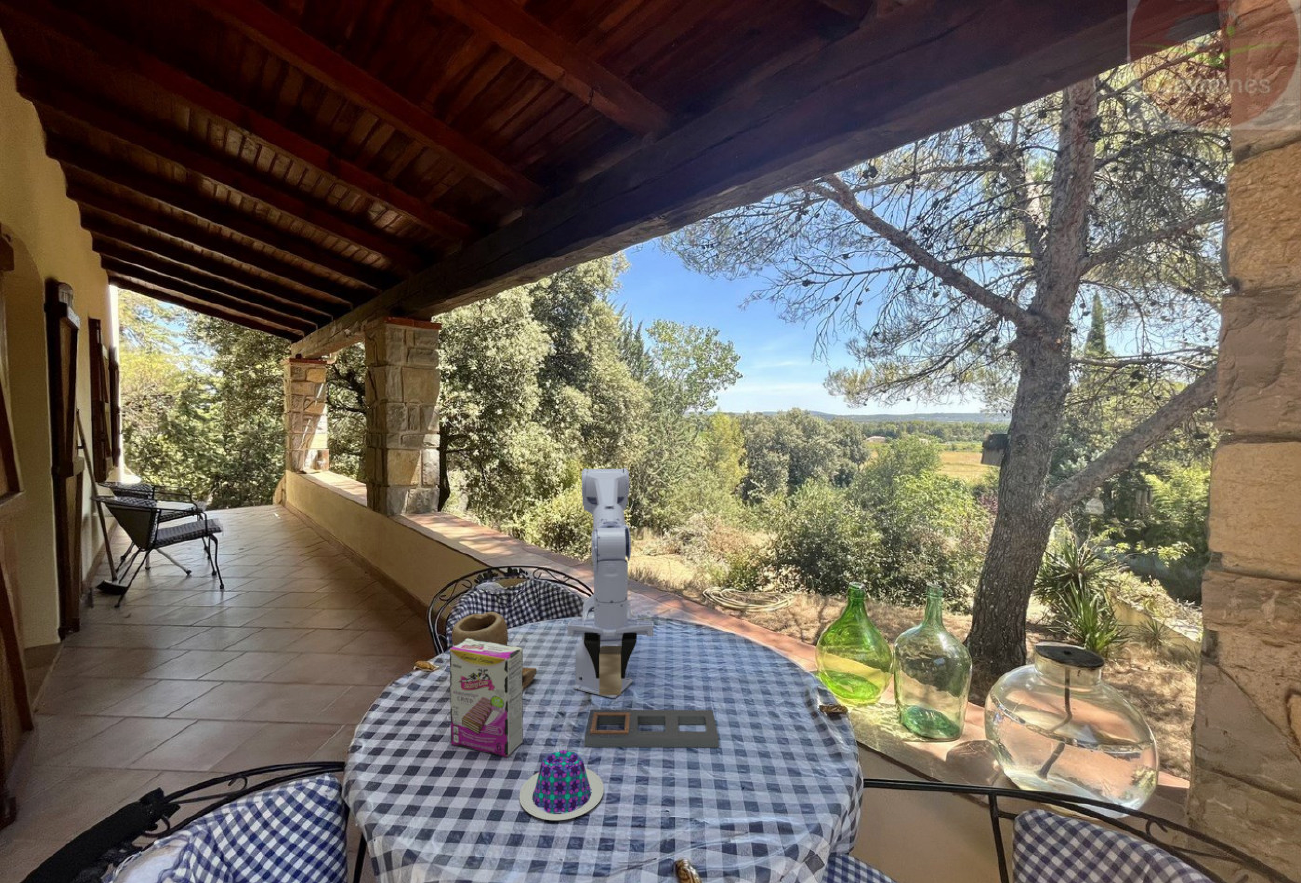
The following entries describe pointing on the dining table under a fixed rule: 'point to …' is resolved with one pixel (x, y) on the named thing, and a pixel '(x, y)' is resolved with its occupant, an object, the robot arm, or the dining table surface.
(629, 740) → the gray peg hole board
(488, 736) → the candy bar box
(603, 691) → the birch peg
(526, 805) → the pudding
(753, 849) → the dining table surface
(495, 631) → the stone cup
